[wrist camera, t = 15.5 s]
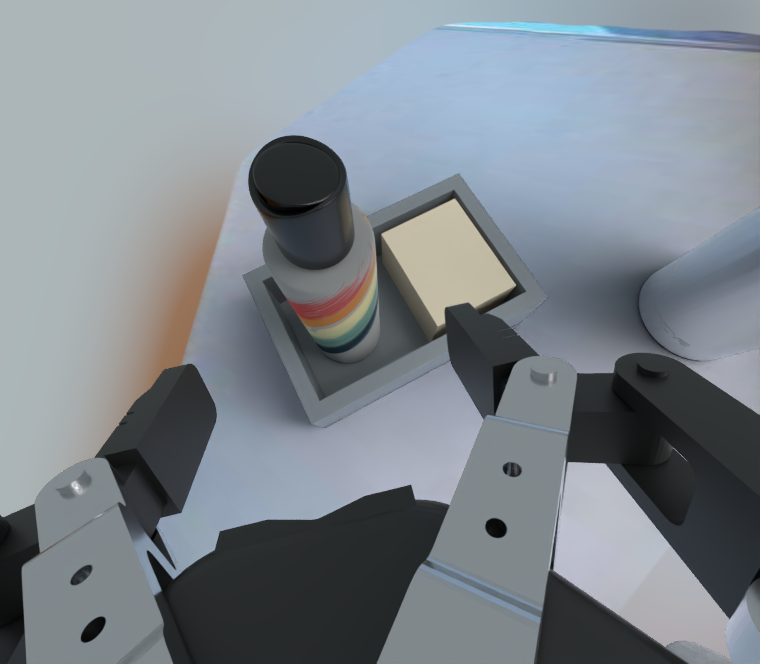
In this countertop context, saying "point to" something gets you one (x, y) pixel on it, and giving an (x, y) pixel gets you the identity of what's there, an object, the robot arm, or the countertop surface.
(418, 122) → the countertop surface
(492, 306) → the plain beige carton
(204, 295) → the countertop surface
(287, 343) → the tote
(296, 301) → the lotion bottle
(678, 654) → the house plant
